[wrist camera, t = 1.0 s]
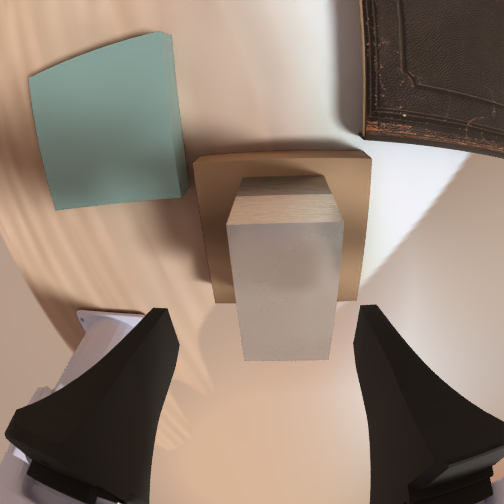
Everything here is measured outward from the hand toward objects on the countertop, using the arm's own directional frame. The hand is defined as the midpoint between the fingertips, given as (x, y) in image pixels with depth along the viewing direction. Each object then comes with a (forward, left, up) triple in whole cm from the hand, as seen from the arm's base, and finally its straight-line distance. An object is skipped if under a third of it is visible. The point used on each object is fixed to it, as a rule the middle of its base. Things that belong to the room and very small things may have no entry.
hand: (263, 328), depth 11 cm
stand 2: (-1, -1, -10) cm, 10 cm away
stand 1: (+7, +10, -10) cm, 16 cm away
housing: (-1, -1, -8) cm, 8 cm away
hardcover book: (+13, -17, -11) cm, 24 cm away
